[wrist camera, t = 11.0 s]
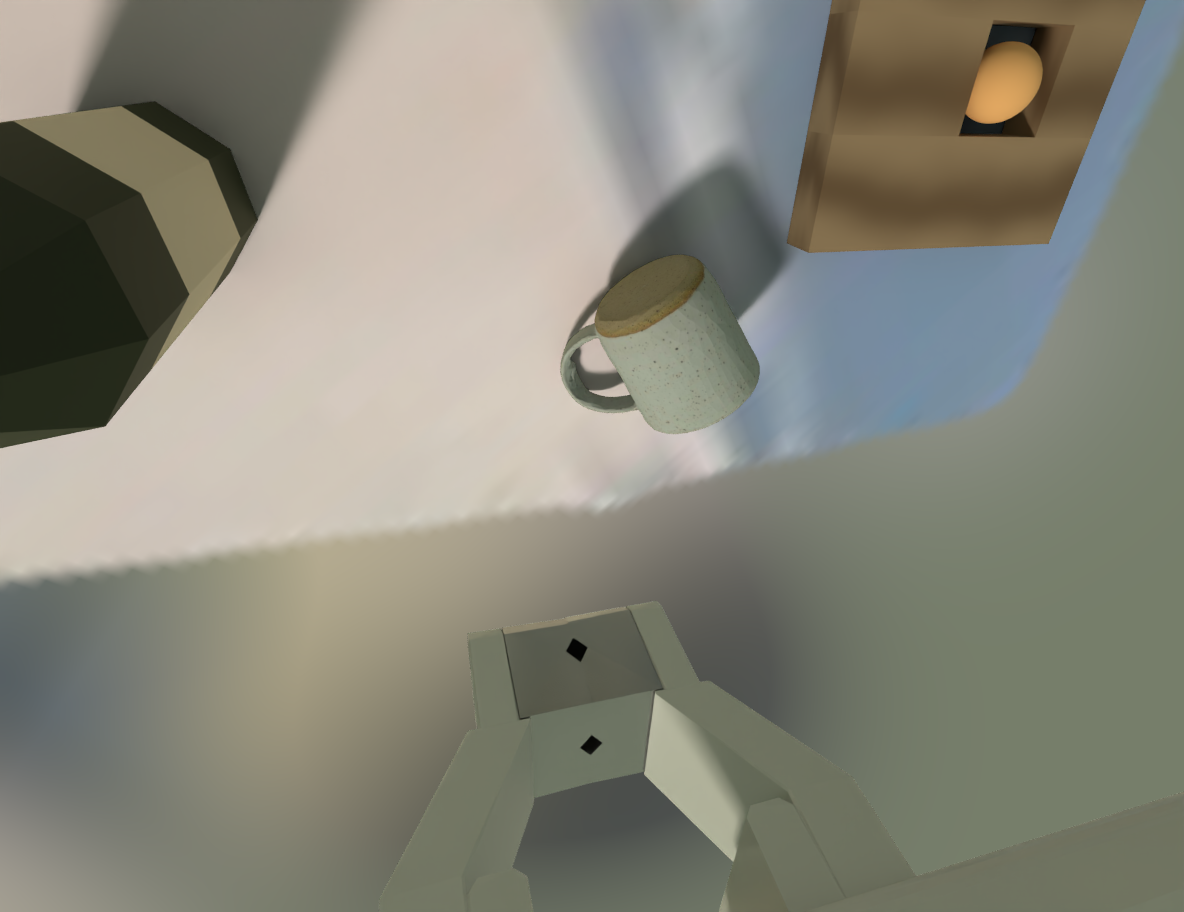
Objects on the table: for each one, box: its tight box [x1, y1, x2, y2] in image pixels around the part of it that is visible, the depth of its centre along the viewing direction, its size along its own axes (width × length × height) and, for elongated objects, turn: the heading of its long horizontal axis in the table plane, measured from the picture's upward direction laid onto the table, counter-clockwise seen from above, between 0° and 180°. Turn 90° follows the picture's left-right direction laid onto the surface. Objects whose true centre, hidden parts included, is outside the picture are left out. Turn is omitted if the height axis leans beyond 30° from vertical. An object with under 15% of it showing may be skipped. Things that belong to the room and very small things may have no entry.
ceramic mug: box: [560, 255, 760, 434], centre depth 37 cm, size 11×8×8 cm
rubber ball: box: [965, 41, 1043, 124], centre depth 35 cm, size 4×4×4 cm
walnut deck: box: [787, 0, 1146, 253], centre depth 36 cm, size 18×18×2 cm
